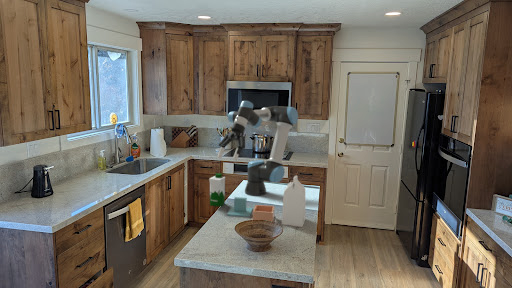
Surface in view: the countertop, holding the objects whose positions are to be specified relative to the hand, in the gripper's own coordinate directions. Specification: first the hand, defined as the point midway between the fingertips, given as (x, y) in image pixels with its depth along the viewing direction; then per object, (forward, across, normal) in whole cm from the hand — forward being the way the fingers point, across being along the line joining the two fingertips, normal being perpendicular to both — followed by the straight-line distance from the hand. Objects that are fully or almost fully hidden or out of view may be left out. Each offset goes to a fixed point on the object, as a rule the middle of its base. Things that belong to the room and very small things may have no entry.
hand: (226, 158), depth 200 cm
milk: (+20, +30, +38) cm, 52 cm away
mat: (+25, 0, +25) cm, 35 cm away
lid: (+24, 0, +24) cm, 34 cm away
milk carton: (+24, -20, +23) cm, 39 cm away
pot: (+25, +17, +28) cm, 41 cm away
